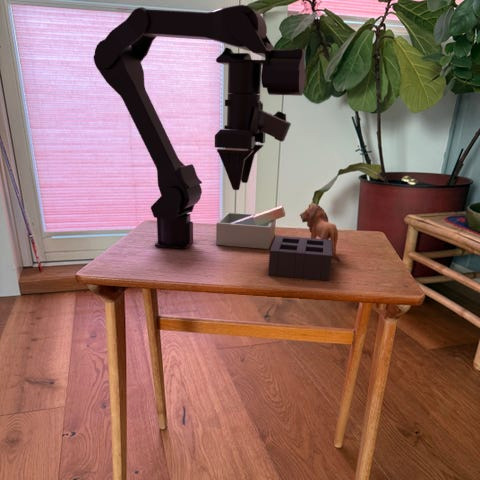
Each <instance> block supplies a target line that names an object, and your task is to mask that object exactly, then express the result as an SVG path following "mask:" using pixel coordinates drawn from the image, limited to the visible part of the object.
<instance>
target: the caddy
mask: <svg viewBox="0 0 480 480" xmlns="http://www.w3.org/2000/svg"><path fill="white" fill-rule="evenodd" d="M332 259H333V257H332V240H331V239H328V240H326V239H321V238H316V239H313V238H311V237H301V236H299V237H298V236H287V235H275V237H274V239H273V241H272V244H271V246H270V248H269V259H268V273H267V275H268V276H272V277H283V278H284V277H285V278H293V279H303V280H315V281H326V282H328V281H330V276H331V268H332Z"/></svg>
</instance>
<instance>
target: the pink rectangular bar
mask: <svg viewBox="0 0 480 480" xmlns="http://www.w3.org/2000/svg"><path fill="white" fill-rule="evenodd" d="M284 217H286V210H285V207H284V205H283V204H282V205H280V206H276V207H274V208H271V209H268V210H265V211H263V212H259V213H256V215H255V216H254V215H251V216H249V217H246V218H243V219H240V220H237V221H235V222H232V223H230V224H243V225H256V226H259V225H262V224H264V223H267V222H270V221H273V220H279V219H283V218H284Z"/></svg>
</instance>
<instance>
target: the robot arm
mask: <svg viewBox="0 0 480 480" xmlns="http://www.w3.org/2000/svg"><path fill="white" fill-rule="evenodd" d="M267 29H268V28H267V23H266V20H265V19H264V17H263V16H262V14H260V13H259V12H257V11H256V10H254V9H253V8H252V7H250V6H248V5H246V4H237V5H231V6H230V5H229V6H226V7H221V8H219V9H215V10H213V11H208V12H207V11H204V12H203V11H185V10H168V9H149V8H146V7H143V6H141V7H137V8H135V9H134V10H132V12H131V13H130V14H129V15H128V17H126V19H125V20H124V21H122V22H121V23H120V24H118V25H117V26H116V27H114V28H113V29H112V30H110V32H109V33H108V34H107V35H106V37H105V39H103V40H100V41H99V42H98V43H97V44H96V47H95V48H94V54H93V62H94V65H95V67H96V69H97V71H98V72H99V74H100V75H101V76H102V77H103V79H104V81H105V82H106V83H107V84H108V86H109V87H111V89H113V90H114V91H115V92H116V93H117V94H118V96H120V99H122V101H123V103H124V105H125V107H126V109H127V111H128V113H129V116H130V117H131V119H132V122H133V124H134V125H135V128H136V130H137V132H138V134H139V136H140V138H141V140H142V142H143V144H144V146H145V148H146V150H147V153H148V154H149V156H150V158H151V160H152V163H153V164H154V166H155V169H156V177H157V187H158V190H159V194H160V196H159V198H157V200H156V201H155V202H154V203H153V204H151V206H150V210H151V213H152V216H153V217H154V218H155V219H156V230H157V231H156V233H157V235H156V236H157V242H155V243H154V247H155V248H157V247H158V248H170V249H179V250H180V249H181V250H185V249H187V248H188V247H190V245H191V244H192V243H193V242H194V222H193V221H191V213H193V211H194V207H195V205H196V204H198V203H199V201H200V200H201V197H202V193H203V190H202V186H201V184H203V181H202V180H201V179H200V178H199V176H198V175H197V172H196V169H195V165H194V164H192V163H191V164H187V165H185V163H183V162H182V161H181V160H180V159H179V156H178V155H177V153H176V150H175V149H174V146H173V144H172V141H171V140H170V138H169V136H168V134H167V132H166V130H165V127H164V125H163V123H162V121H161V119H160V117H159V115H158V112H157V110H156V108H155V107H154V104H153V102H152V100H151V98H150V96H149V94H148V92H147V89H146V86H145V85H146V84H145V71H144V68H143V65H142V62H143V60H144V59H145V58H146V57H147V56H148V54H149V52H150V48H151V46H152V45H153V42H154V40H155V39H156V38H157V37H161V38H172V39H173V38H177V39H188V40H189V39H190V40H203V41H205V40H206V41H214V42H217V43H222V44H224V45H226V46H230V47H233V48H237V49H240V50H244V51H247V52H233V50H232V49H231V48H229V47H225V48H224V50H223V51H222V53H220V55H218V56H217V57H216V59H215V62H216V63H217V64H221V65H224V66H227V94H226V95H227V97H226V98H227V99H224V107H226V109H227V110H226V125H224V127H223V128H221V129H219V130H218V131H217V132H216V133H215V134H214V148H216V153H218V155H219V157H220V160H221V162H222V165H223V168H224V170H225V173H226V176H227V178H228V180H229V183H230V186H231V188H232V191H239V190H240V188H241V184H247V183H248V182H249V179H250V174H251V170H252V166H253V163H254V160H255V156H256V154H257V153H258V152H260V150H261V149H263V148H264V144H265V143H266V135H269V136H271V137H273V138H274V139H275V140H277V141H279V142H285V139H286V137H287V136H288V132H289V130H290V128H291V125H292V123H291V122H290V121H288V120H287V114H286V113H284V112H282V111H280V110H279V111H276V113H274V114H272V113H270V112H267V111H264V103H263V101H261V87H262V88H263V89H266V90H267V94H268V95H270V96H297V97H298V96H300V97H301V96H303V94H304V92H305V88H306V80H307V72H306V61H305V50H304V49H303V48H292V49H275V48H274V45H273V44H272V42H271V41H270V39H269V37H268V35H267V33H268V30H267ZM249 52H251V53H253V54H255V55H258V56H260V57H262V58H264V59H252V56H251V54H250V53H249ZM257 143H260V144H257Z"/></svg>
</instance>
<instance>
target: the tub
mask: <svg viewBox="0 0 480 480" xmlns="http://www.w3.org/2000/svg"><path fill="white" fill-rule="evenodd" d="M251 215H254V216H255V215H257V213H256V214H255V213H240V212H226V213H225V214H224V215H223V216H222V217H221V218H220V219H219V220H218V221H217V222H216V233H215V236H216V237H215V239H216V240H215V241H216V242H215V244H216V246H227V247H238V248H240V247H241V248H251V249H264V250H270V248H271V246H272V243H273V241H274V239H275V237H276V234H275V233H276V220H277V219H276V220H273V221H270V222H267V223H264V224H262V225H259V226H256V225H243V224H230V223H232V222H235V221H237V220H240V219H243V218H246V217H249V216H251Z"/></svg>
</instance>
